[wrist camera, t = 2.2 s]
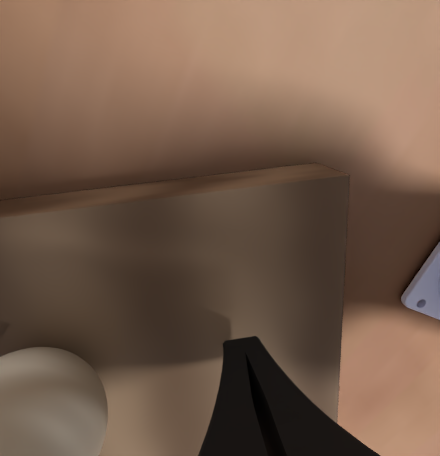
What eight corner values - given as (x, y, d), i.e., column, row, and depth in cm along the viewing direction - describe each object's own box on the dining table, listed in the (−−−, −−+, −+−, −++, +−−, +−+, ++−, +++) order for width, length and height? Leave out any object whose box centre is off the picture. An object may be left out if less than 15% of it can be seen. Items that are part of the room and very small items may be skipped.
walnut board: (316, 162, 14) (349, 175, 11) (313, 382, 19) (336, 430, 16) (-249, 230, 12) (-376, 264, 9) (-98, 452, 17) (-154, 520, 14)
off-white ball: (137, 338, 12) (109, 472, 8) (99, 425, 14) (56, 584, 9) (3, 301, 11) (-123, 433, 7) (-25, 400, 13) (-145, 568, 8)
